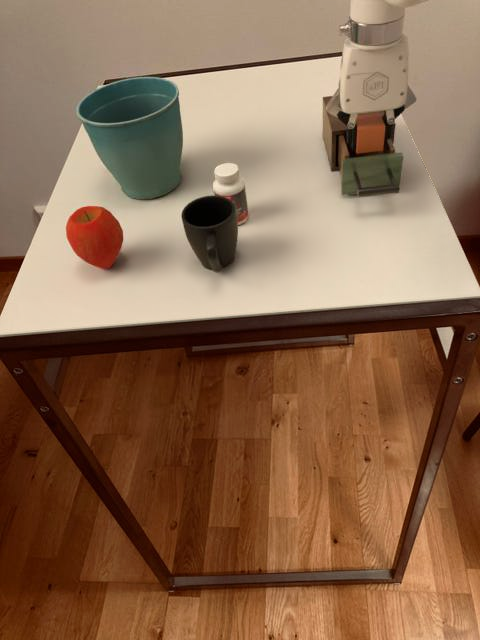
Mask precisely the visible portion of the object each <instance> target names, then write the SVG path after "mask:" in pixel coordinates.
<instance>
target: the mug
mask: <svg viewBox="0 0 480 640" xmlns="http://www.w3.org/2000/svg"><path fill="white" fill-rule="evenodd" d="M180 216H181V221H182V225H183V229H184V233H185V237H186V239H187V241H188V243H189V245H190V247H191V250H192V251H193V252H194V254H195V256H196V257H197V259H198V260H199V262H200V264H201V265H202V266H203V268H204V269H206V270H210V271H213V272H215V273H221V272H223V270H224V269H227V268H228V267H230V266H231V265H232V264H233V263H234V261H235V256H236V251H237V247H238V239H239V225H238V222H237V215H236V209H235V205H234V204H233V202H232V201H231V200H230V199H228V198H226V197H222V196H215V195H214V194H213V195H205V196H200V197H197V198H195V199H193V200H192V201H190V202H188V204H185V206H184V208H183V209H182V211H181V215H180Z"/></svg>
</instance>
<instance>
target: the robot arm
mask: <svg viewBox="0 0 480 640" xmlns="http://www.w3.org/2000/svg"><path fill="white" fill-rule="evenodd" d="M427 1H429V0H350V5H349V7H350V8H349V9H350V11H349V16H348V20H347V22H346V23H344V24H340V25H339V36H344V37H347V38H346V39H345V41H344V44H343V49H342V53H341V59H340V66H339V67H340V68H339V75H338V76H339V77H338V88H337V89H336V91H335V92H334V94H333V95H332V96H333V97H332V98H331V99H330V101H329V102H328V104H327V105H326V109H327V112H328V113H330V114H331V115H333V116H335V117H337V118H338V119H339V120H340V121H342V122H343V123H344V124H345V125H346V126H347V144H350V145H351V148H352V151H355V150H356V145H357V127H356V120H357V116H358V114H359V113H367V112H376V111H384V115H383V116H382V119H383V122H384V124H385V136H384V147H387V140H388V139H390V137H391V128H392V124H393V123H394V122H395V123H396V119H397V118H398V117H399V116H401V114H402V113H403V112H405V110H406V109H408V108H409V107H410V106H412V105H413V104H415V103H416V102H417V96H416V95H415V93H414V91H413V90H412V88H411V87H410V86H409V62H410V59H409V57H410V53H409V39H408V36H406V34H405V33H404V32H403V31H404V22H405V21H404V20H405V13H406V8H411V7H414V6H417V5H419V4H422V3H425V2H427ZM339 103H340V105H341V108H339V107H338V105H339Z"/></svg>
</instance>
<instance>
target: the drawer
mask: <svg viewBox="0 0 480 640" xmlns="http://www.w3.org/2000/svg"><path fill="white" fill-rule="evenodd" d="M336 158H337V161H338V165H339V169H340V171H339V173H340V194H341V196H343V195H351V194H352V195H353V194H357V198H362V197H363V198H364V197H372V196H382V195H383V196H384V195H390V194H392V195H393V194H399V193H400V186H401V185H400V184H401V177H402V176H401V175H402V168H403V161H404V154H403V152H396V148H395V145H394V143H392V140H391V138H390V139H388V140H387V147H383V151H376V152H367V153H359V154H357V152H356V150H355V151H352V148H351V145H350V144H347V134H340V135H336Z"/></svg>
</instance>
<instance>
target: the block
mask: <svg viewBox="0 0 480 640" xmlns="http://www.w3.org/2000/svg"><path fill="white" fill-rule="evenodd" d="M356 127H357V145H356V152H357V154H359V153H367V152H376V151H383V147H384V136H385V124H384V122H383V119H382V117H381V114H373V115H365V116H357V120H356Z"/></svg>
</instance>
